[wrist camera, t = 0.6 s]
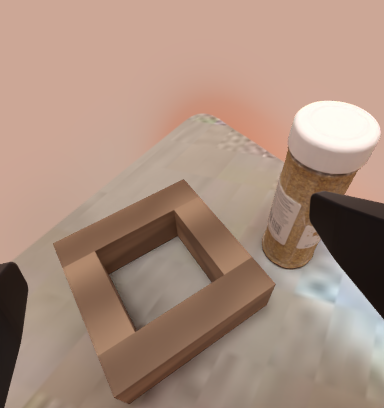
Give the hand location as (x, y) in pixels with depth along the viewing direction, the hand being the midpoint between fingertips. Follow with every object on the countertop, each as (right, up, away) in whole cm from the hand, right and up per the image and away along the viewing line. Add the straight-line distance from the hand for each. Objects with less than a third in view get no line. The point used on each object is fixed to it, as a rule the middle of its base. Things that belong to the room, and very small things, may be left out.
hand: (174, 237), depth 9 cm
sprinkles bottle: (+9, -3, +18) cm, 20 cm away
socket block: (-2, -6, +16) cm, 17 cm away
